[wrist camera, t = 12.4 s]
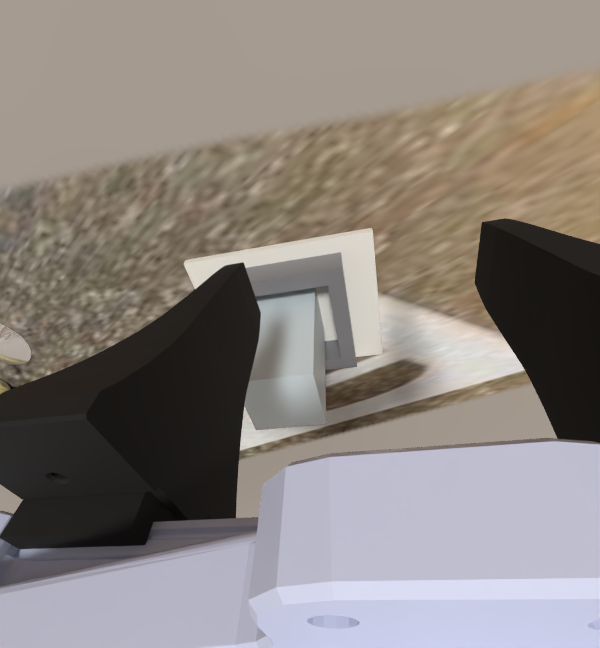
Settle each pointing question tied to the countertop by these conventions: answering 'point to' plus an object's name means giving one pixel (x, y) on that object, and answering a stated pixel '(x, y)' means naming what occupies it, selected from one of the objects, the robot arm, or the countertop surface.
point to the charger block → (288, 363)
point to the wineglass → (13, 347)
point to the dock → (317, 286)
